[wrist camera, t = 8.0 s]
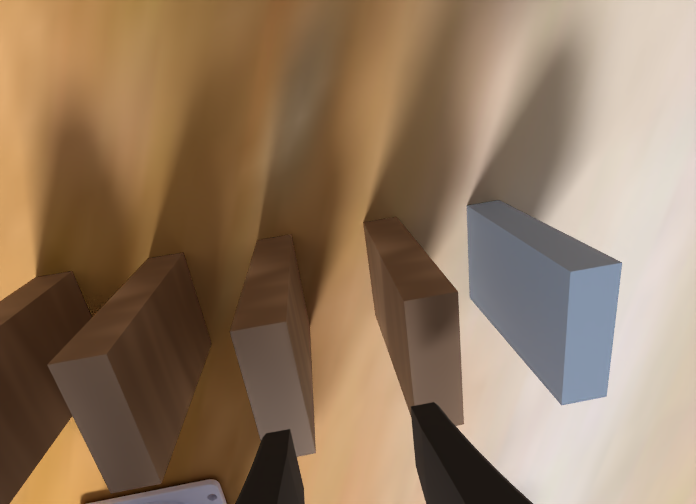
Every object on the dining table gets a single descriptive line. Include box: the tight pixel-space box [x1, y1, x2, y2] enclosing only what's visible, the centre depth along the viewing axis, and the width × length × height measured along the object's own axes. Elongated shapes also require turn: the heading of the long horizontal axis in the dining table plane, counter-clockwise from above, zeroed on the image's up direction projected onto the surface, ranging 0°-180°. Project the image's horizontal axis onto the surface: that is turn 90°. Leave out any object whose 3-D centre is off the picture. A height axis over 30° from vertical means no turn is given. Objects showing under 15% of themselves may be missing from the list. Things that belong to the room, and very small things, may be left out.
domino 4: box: [363, 217, 464, 426], centre depth 16 cm, size 2×5×8 cm, turn 8°
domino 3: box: [230, 234, 316, 457], centre depth 16 cm, size 2×5×8 cm, turn 9°
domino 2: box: [47, 253, 211, 494], centre depth 16 cm, size 2×5×8 cm, turn 8°
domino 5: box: [467, 200, 622, 405], centre depth 17 cm, size 2×5×8 cm, turn 8°
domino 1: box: [0, 271, 92, 504], centre depth 16 cm, size 2×5×8 cm, turn 8°
